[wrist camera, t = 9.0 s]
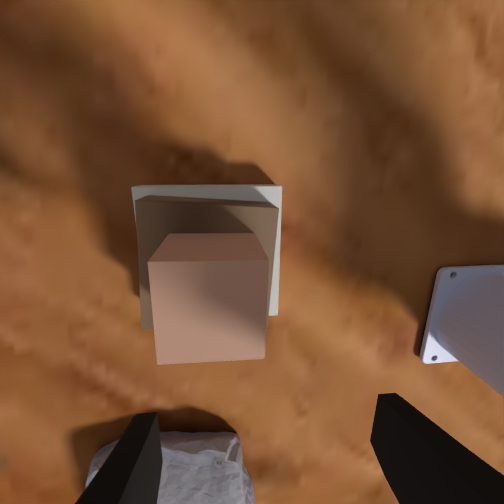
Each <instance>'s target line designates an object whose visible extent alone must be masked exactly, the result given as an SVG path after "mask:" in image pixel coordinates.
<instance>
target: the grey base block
mask: <svg viewBox="0 0 504 504" xmlns="http://www.w3.org/2000/svg"><path fill="white" fill-rule="evenodd" d="M131 190H132V198H133V206H134V214H135V222H136V212H135V200H137V199H140V198H142V197H145V196H147V195H159V196H176V197H193V198H210V199H228V200H245V201H262V202H271V203H272V204H273V205H275V206H276V207H278V208H279V214H278V224H277V234H276V245H275V255H274V265H273V275H272V285H271V296H270V306H269V316H272V315H278V294H279V264H280V234H281V204H282V186H279V185H276V184H242V185H138V186H134V187H131Z"/></svg>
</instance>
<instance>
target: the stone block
mask: <svg viewBox="0 0 504 504" xmlns="http://www.w3.org/2000/svg"><path fill="white" fill-rule="evenodd" d="M118 441H119V439H118V440H116V441H114V442H112V443H110V444H108V445H105V446H104V447H102V448H101V449H99V450H98V451H97V452H96V454H95V455H94V457H93V459H92V461H91V464H90V467H89V473H88V477H87V480H86V483H85V489H86V488H87V486H88V485H89V483H90V482H91V480H92V479H93V478H94V476H95V475H96V473H97V472H98V471H99V469H100V468H101V466H102V465H103V463H104V462H105V460H106V459H107V457H108V456H109V454H110V453H111V451H112V450H113V448H114V447H115V445H116V444H117V442H118ZM160 441H161V449H162V458H163V465H162V472H161V479H160V486H159V492H158V499H157V504H255V500H254V485H253V483H252V480H251V478H250V476H249V475H248V471H247V470H246V469H245V466H244V464H243V462H242V448H241V441H240V438H239V435H238V433H232V432H226V431H224V432H196V433H190V432H179V431H169V432H160Z"/></svg>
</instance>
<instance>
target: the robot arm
mask: <svg viewBox="0 0 504 504" xmlns="http://www.w3.org/2000/svg"><path fill="white" fill-rule="evenodd" d="M451 273H452V275H451V276H450V274H451ZM420 360H421V361H422V362H423V363H426V364H428V363H440V362H452V361H459V362H461V363H462V364H463V365H464V366H466V367H467V368H468V369H469V370H471V371H472V372H473V373H474V374H476V375H477V376H478V377H479V378H480V379H482V380H483V381H484V382H485V383H487V384H488V385H489V386H490V387H492V388H493V389H494V390H495V391H497V392H498V393H499V394H500V395H502V396H503V397H504V265H481V266H457V267H443V268H441V269H439V271H438V272H437V276H436V280H435V285H434V290H433V295H432V299H431V304H430V309H429V314H428V318H427V323H426V328H425V333H424V337H423V342H422V347H421V352H420ZM370 441H371V444H372V446H373V449H374V451H375V454H376V456H377V459H378V461H379V464H380V466H381V468H382V470H383V473H384V475H385V477H386V479H387V481H388V483H389V485H390V487H391V489H392V491H393V492H394V494H395V496H396V498H397V500H398V502H399V504H504V475H502V474H501V473H500V472H498V471H497V470H495V469H494V468H493V467H491V466H490V465H489V464H487V463H486V462H484V461H483V460H482V459H480V458H479V457H478V456H476V455H475V454H474V453H472V452H471V451H470V450H468V449H467V448H466V447H465V446H463V445H462V444H461V443H459V442H458V441H457V440H455V439H454V438H453V437H452V436H450V435H449V434H448V433H446V432H445V431H444V430H443V429H441V428H440V427H439V426H437V425H436V424H435V423H434V422H432V421H431V420H430V419H429V418H427V417H426V416H425V415H423V414H422V413H421V412H420V411H418V410H417V409H416V408H415V407H413V406H412V405H411V404H410V403H408V402H407V401H406V400H404V399H403V398H402V397H400V396H399V395H398V394H396V393H388V394H378V399H377V405H376V411H375V416H374V422H373V428H372V433H371V439H370ZM162 465H163V458H162V449H161V441H160V432H159V423H158V415H157V412H156V413H144V414H136V415H135V416H134V417H133V419H132V420H131V422H130V424H129V425H128V427H127V428H126V430H125V432H124V433H123V435H122V436H121V438H120V439H119V441H118V442H117V444H116V445H115V447H114V448H113V450H112V451H111V453H110V454H109V456H108V457H107V459H106V460H105V462H104V463H103V465H102V466H101V468H100V469H99V471H98V472H97V473H96V475H95V476H94V478H93V479H92V480H91V482H90V483H89V485H88V486H87V488H86V489H85V490H84V492H83V493H82V495H81V496H80V497H79V499H78V500H77V502H76V503H75V504H157V499H158V492H159V486H160V479H161V472H162Z"/></svg>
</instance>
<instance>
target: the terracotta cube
mask: <svg viewBox="0 0 504 504" xmlns="http://www.w3.org/2000/svg"><path fill="white" fill-rule="evenodd" d="M148 271H149V282H150V292H151V303H152V313H153V324H154V334H155V345H156V355H157V365H162V364H180V363H197V362H215V361H233V360H250V359H265V345H266V322H267V298H268V274H269V259H268V257H267V255H266V253H265V251H264V249H263V248H262V246H261V244H260V242H259V240H258V238H257V236H256V234H255V233H178V234H168V236H167V237H166V238H165V240H164V241H163V242H162V244H161V245H160V246H159V248H158V249H157V250H156V252H155V253H154V254H153V255H152V257H151V258H150V259H149V261H148Z"/></svg>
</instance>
